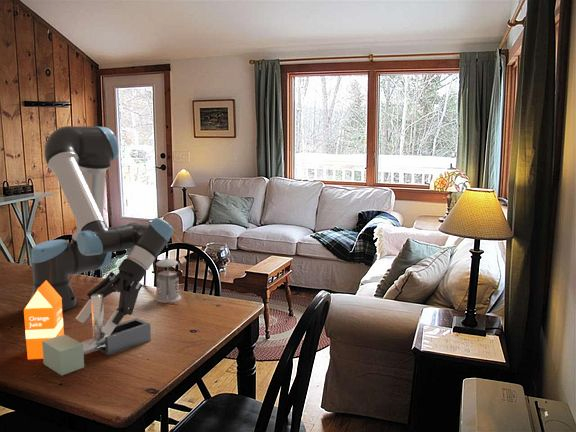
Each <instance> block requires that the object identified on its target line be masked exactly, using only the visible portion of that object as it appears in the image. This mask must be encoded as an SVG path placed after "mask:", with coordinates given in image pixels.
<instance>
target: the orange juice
mask: <svg viewBox="0 0 576 432" xmlns="http://www.w3.org/2000/svg"><path fill="white" fill-rule="evenodd" d="M61 299H62V298H61V297H60V296H59V294H58V293H57V292H56V291H55V290H54V289H53V287H52V286H51V285H50V284H49V283H48V282H47V280H46V281H45V282H44V283H43V284H42V285H41V286H40V287H39V288H38V289H37V291H36V293H35V294H34V296H33V297H32V299H31V298H30V300H29V302H28V303H27V305H26V306H25V307H24V309H23V316H24V317H23V318H24V329H25V331H24V332H25V334H24V335H25V342H26V352H27V353H26V355H27V356H26V357H27V360H40V359H42V360H43V349H42V341H44V340H47V339H50V338H54V337H57V336H60V335H63V334H65V332H64V330H65V329H64V317H63V316H64V315H63V311H62V300H61Z"/></svg>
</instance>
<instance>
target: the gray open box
mask: <svg viewBox="0 0 576 432" xmlns="http://www.w3.org/2000/svg"><path fill="white" fill-rule="evenodd" d="M151 333H152V331H151V323H149V322H147V321H145V320H142V319H139V318H138V317H136V318H132V319H129V320H126V321H124V322H119V324H118V325H117V326H116V327H115V328H114V330H113V331H112V333H111V334H110V336H106V337H105V348H102V349H100V350H98V351H99V352H101V353H102V354H104V355H106V356H108V357H110V356H111V355H114V354H115V355H116V354H117V353H119V352H120V353H121V352H122V351H125V350H128V349H130V348H133V347H136V346H139V345H142V344H144V343H146V342H149V341H152V337H151V336H152V335H151Z"/></svg>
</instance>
